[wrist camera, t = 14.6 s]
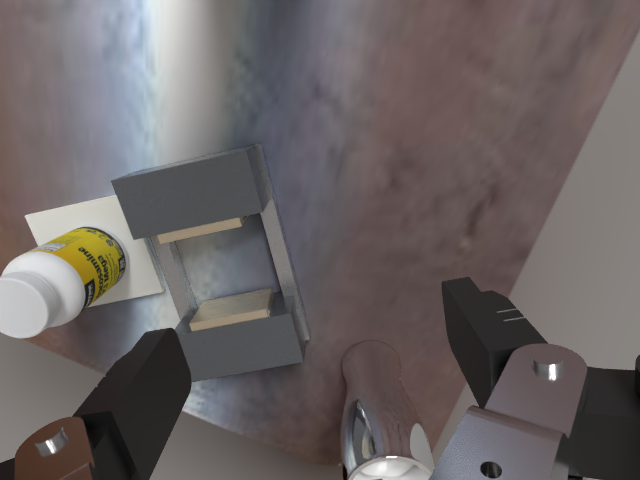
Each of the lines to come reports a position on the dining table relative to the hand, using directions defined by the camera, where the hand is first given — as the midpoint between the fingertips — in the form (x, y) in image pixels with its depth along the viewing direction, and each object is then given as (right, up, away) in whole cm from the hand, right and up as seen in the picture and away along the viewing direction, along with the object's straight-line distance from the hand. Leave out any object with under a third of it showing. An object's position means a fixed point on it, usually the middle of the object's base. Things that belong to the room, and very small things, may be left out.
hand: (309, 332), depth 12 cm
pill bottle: (-21, +1, +27) cm, 34 cm away
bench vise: (-9, +1, +28) cm, 29 cm away
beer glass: (+6, -10, +31) cm, 33 cm away
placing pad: (-21, +1, +28) cm, 35 cm away
